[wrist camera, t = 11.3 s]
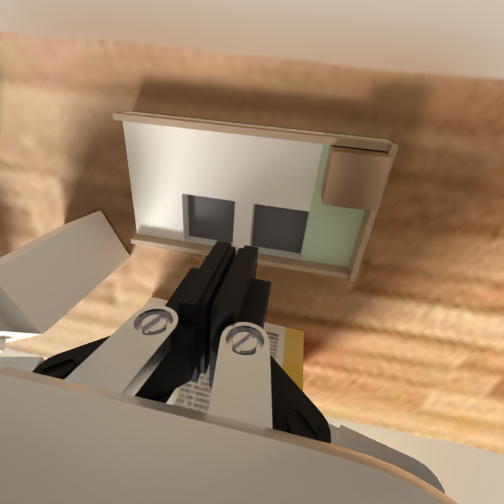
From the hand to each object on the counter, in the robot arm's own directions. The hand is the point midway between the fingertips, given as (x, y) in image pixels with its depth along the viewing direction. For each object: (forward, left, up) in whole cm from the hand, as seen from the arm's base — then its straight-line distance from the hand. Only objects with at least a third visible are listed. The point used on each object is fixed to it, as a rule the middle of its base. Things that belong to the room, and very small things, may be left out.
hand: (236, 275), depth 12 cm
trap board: (+4, +2, -21) cm, 22 cm away
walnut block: (-6, +2, -19) cm, 20 cm away
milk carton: (+27, +2, -21) cm, 34 cm away
